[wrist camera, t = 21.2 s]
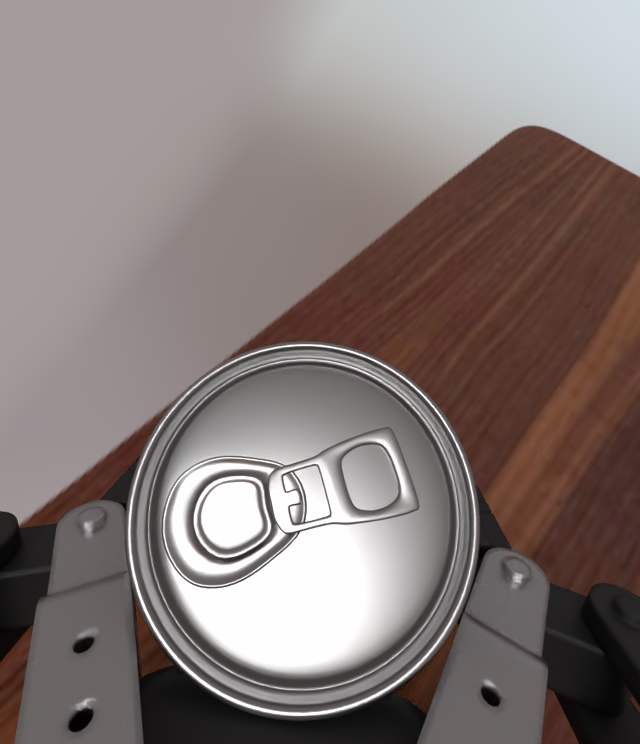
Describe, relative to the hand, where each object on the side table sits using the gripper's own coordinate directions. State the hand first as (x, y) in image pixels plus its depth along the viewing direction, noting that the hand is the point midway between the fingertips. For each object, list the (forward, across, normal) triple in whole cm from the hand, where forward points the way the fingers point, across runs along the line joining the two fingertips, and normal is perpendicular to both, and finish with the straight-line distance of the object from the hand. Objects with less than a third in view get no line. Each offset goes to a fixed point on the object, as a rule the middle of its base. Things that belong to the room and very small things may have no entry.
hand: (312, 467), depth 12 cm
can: (+3, 0, -5) cm, 6 cm away
